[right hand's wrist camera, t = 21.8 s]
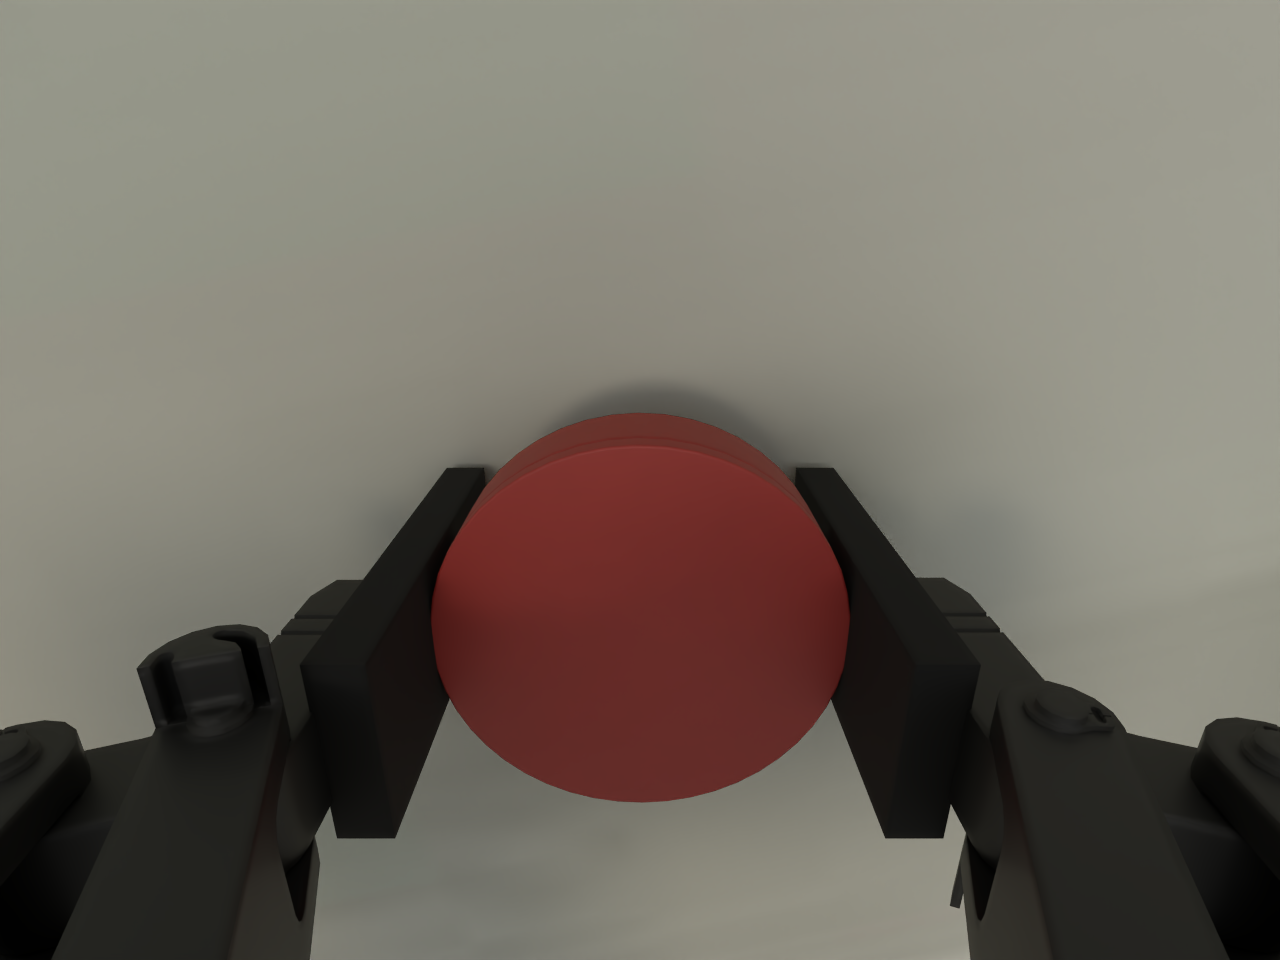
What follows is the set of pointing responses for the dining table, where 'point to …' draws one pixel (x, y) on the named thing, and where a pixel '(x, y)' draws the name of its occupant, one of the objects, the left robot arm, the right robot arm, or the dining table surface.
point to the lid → (640, 611)
